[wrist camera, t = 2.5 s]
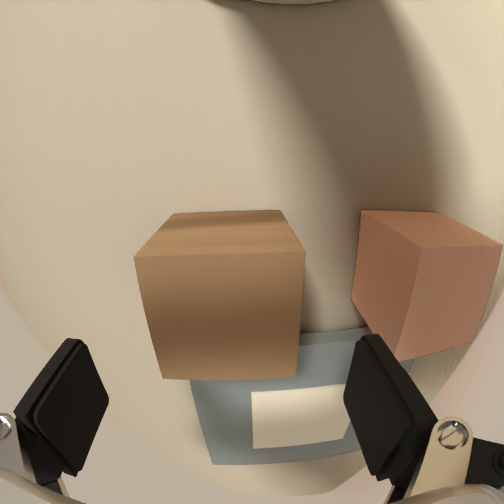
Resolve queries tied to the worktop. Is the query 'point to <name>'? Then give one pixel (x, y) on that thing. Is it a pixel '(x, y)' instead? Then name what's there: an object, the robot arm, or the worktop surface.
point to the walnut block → (223, 295)
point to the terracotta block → (422, 280)
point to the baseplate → (284, 407)
